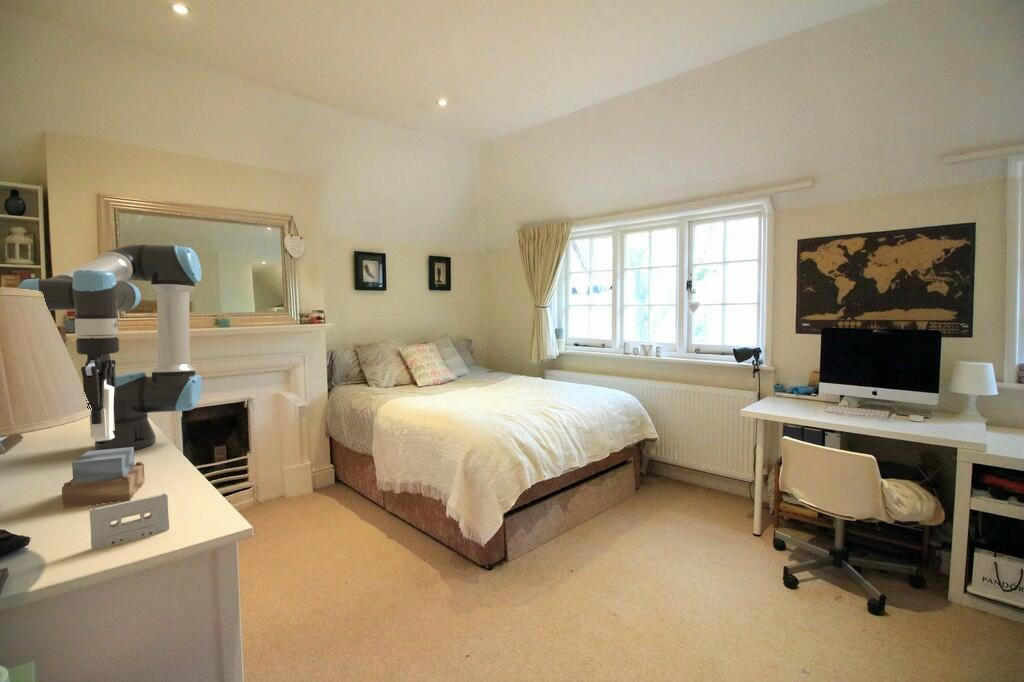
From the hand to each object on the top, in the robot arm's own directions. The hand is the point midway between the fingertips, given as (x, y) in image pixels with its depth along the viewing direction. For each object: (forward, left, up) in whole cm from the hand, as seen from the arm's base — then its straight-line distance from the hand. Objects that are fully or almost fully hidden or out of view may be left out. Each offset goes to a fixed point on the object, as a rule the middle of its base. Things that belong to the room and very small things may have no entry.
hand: (103, 433), depth 112 cm
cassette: (+28, +12, -15) cm, 34 cm away
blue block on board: (0, 0, -15) cm, 15 cm away
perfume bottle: (0, 0, -1) cm, 1 cm away
